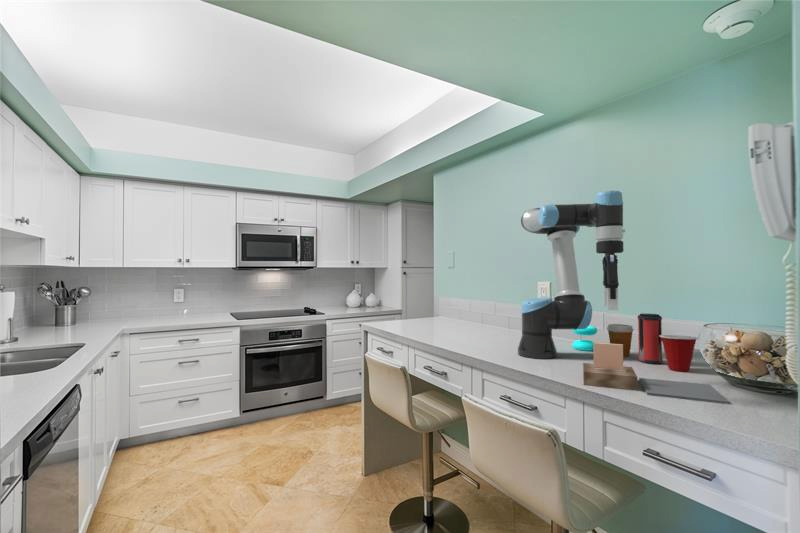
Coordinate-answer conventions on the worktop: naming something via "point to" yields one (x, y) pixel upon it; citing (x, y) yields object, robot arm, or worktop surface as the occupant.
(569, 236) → the robot arm
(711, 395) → the mat
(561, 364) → the worktop surface
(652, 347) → the speaker
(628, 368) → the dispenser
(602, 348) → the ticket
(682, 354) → the plastic cup
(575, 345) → the turquoise double disc piece
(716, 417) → the worktop surface
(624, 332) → the disposable coffee cup
